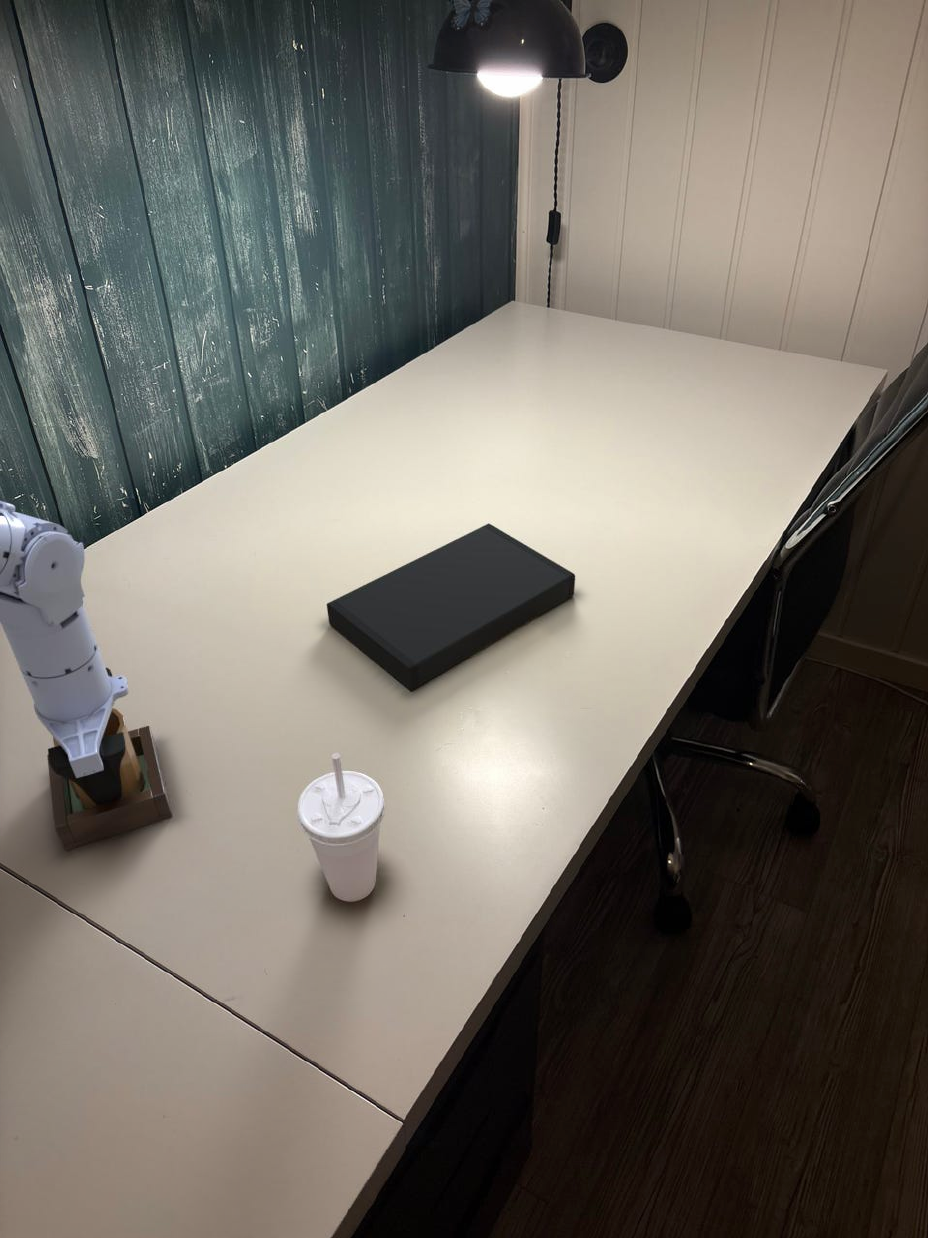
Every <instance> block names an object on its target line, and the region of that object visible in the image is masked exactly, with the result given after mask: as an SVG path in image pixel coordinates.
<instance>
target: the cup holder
mask: <svg viewBox="0 0 928 1238" xmlns="http://www.w3.org/2000/svg"><path fill="white" fill-rule="evenodd" d="M128 731H129V734H130V737H131V740H132V742H133V745H134V748H135V751H136V754H137V757H138V760H139V762H140V765H141V768H142V772H143V776H144V783H143V786H142V788H141V790H140V792H139V793H137V794H134V795H131V796H128V797H124V798H121V799H118V800H115V801H111V802H108V803H105V804H102V805H99V806H95V807H92V808H89V809H87V808H85V807H83V806H82V805H81V804H80V802H79V801H78V799H77V798H76V795H75V793H74V791H73V788H72V786H71V784H70V781H69V779H68V778H66V777H63V776H60V775H57V774H56V773H55V772H54V771H53V769H52V768H51V766H50V763H49V756H48V754H46V755H47V756H46V757H47V766H48V775H49V776H48V777H49V786H50V796H51V806H52V817H53V826H54V830H55V832H56V834H57V836H58V839H59V840H60V843H61V846H62V847H63V849H64V851H66V852H67V851H69V850H73V849H75V848H78V847H82V846H84V845H88V844H91V843H95V842H97V841H100V840H104V839H107V838H111V837H113V836H116V835H120V834H122V833H125V832H128V831H132V830H135V829H139V828H142V827H144V826H148V825H150V824H153V823H157V822H159V821H163V820H166V819H169V818H172V817H173V812H172V808H171V803H170V798H169V795H168V789H167V786H166V781H165V779H164V773H163V769H162V765H161V760H160V756H159V751H158V748H157V744H156V741H155V738H154V735H153V732H152V729H151V726H150V725H146V726H142V727H139V728H135V729H131V730H128Z"/></svg>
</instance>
